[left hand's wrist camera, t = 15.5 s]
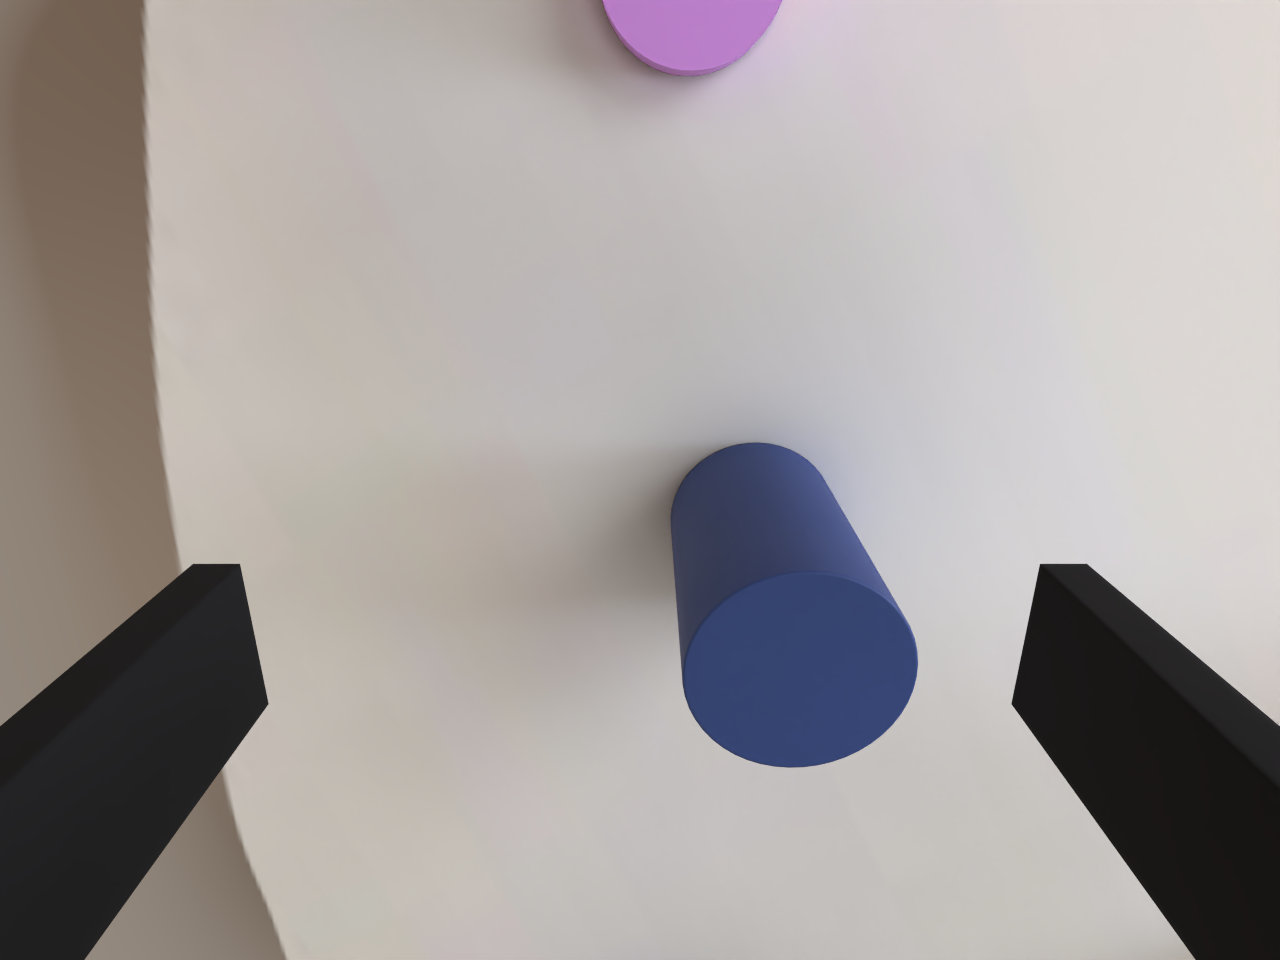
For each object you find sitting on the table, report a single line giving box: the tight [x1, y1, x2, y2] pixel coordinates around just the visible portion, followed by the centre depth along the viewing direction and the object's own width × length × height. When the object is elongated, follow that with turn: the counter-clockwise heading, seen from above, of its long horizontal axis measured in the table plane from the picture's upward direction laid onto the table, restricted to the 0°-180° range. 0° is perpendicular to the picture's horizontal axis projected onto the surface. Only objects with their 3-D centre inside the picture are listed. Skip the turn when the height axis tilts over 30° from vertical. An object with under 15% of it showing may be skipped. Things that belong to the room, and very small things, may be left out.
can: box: [671, 443, 918, 767], centre depth 26 cm, size 6×6×10 cm
